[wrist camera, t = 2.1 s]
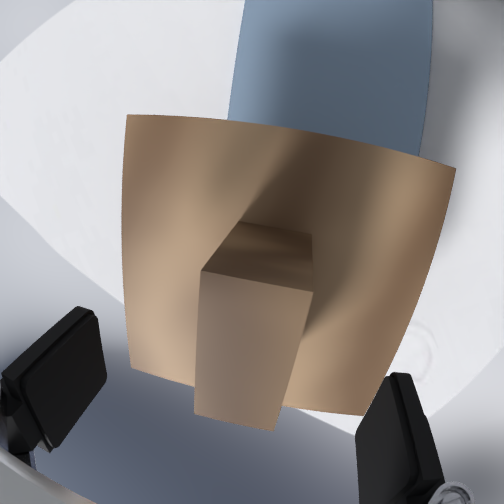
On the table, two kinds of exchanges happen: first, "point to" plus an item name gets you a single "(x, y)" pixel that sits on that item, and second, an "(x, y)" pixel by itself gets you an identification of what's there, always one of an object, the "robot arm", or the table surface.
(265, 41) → the slate mat
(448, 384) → the table surface
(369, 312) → the walnut lid
